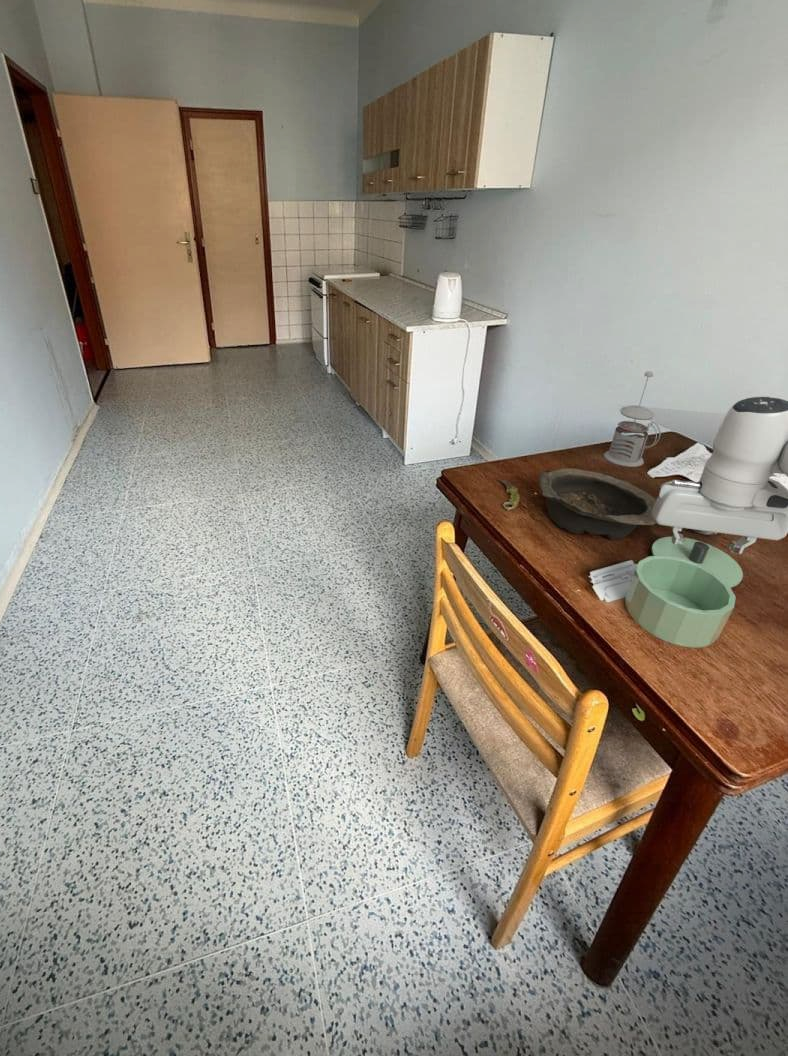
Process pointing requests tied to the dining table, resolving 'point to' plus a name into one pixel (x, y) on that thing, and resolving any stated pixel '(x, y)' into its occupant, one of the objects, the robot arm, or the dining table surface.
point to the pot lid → (701, 557)
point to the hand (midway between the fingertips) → (705, 547)
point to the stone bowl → (595, 503)
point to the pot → (679, 601)
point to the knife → (514, 495)
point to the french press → (633, 453)
